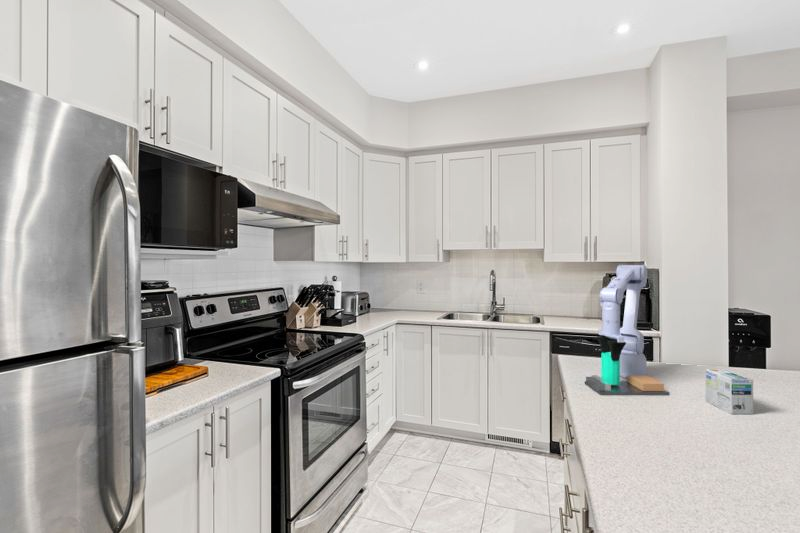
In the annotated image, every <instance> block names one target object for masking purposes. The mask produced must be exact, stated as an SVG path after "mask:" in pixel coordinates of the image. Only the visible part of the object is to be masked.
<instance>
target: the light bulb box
mask: <svg viewBox="0 0 800 533" xmlns="http://www.w3.org/2000/svg"><path fill="white" fill-rule="evenodd" d="M705 402H706V403H708V404H710V405H713V406H714V407H717V408H719V409H721V410H722V411H725V412H727V413H728V414H731V415H737V414H738V415H754V378H751V377H748V376H745V375H742V374H739V373H736V372H733V371H730V370H728V369H722V368H721V369H716V368H715V369H713V368H710V369H709V368H706V369H705Z"/></svg>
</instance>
